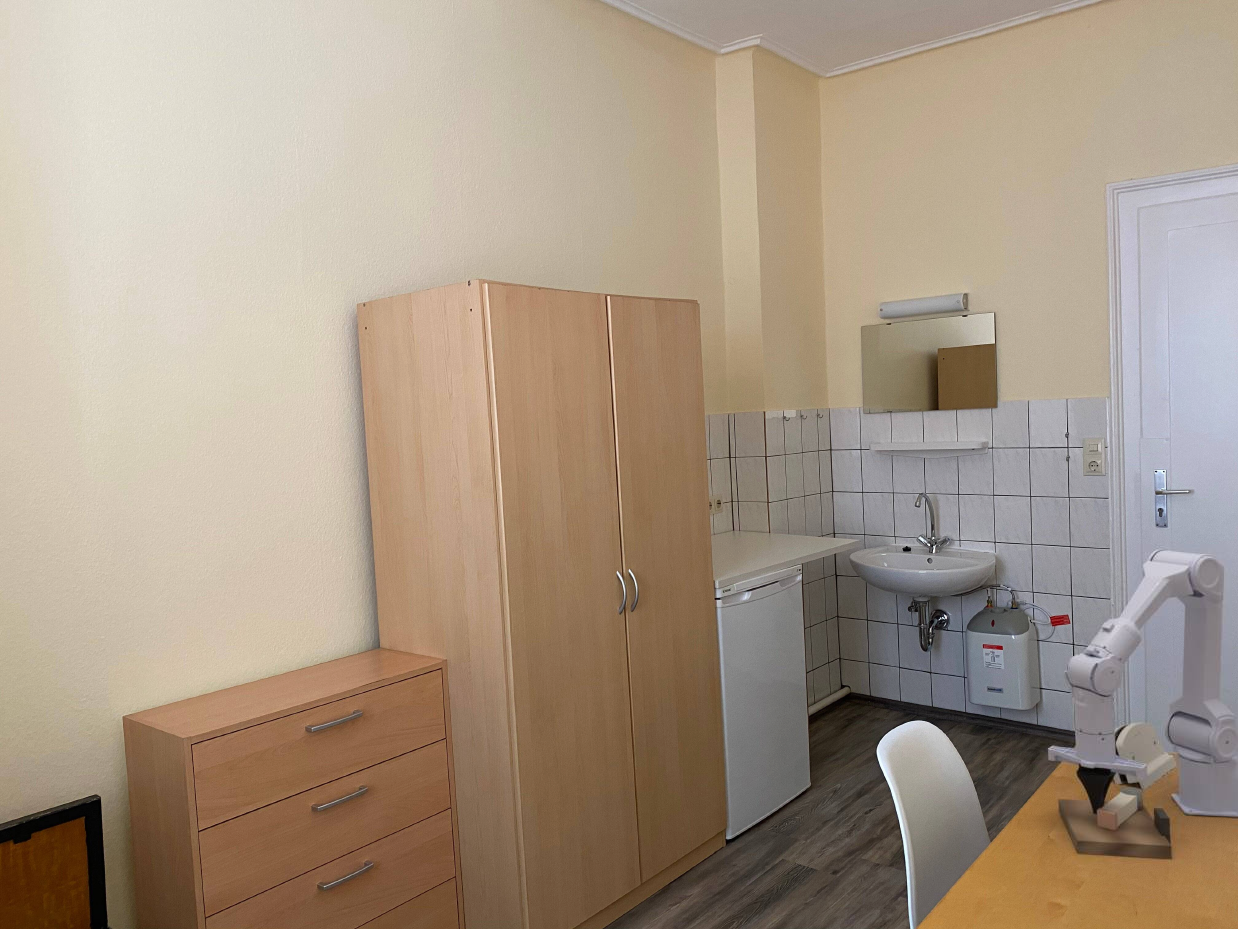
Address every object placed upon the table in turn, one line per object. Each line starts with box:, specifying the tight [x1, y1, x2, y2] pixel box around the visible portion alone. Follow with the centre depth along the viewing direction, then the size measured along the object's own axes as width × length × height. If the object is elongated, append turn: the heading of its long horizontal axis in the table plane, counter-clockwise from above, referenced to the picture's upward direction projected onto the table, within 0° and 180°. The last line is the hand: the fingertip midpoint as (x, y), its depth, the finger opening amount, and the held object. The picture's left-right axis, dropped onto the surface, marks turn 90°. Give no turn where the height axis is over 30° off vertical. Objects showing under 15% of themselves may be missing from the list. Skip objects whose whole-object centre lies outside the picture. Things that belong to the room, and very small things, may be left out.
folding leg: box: [1097, 786, 1144, 831], centre depth 151 cm, size 13×3×3 cm, turn 132°
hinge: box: [1113, 722, 1178, 791], centre depth 174 cm, size 17×5×10 cm, turn 131°
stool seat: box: [1057, 798, 1173, 860], centre depth 150 cm, size 14×16×5 cm
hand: (1098, 812), depth 150 cm, fingers closed
